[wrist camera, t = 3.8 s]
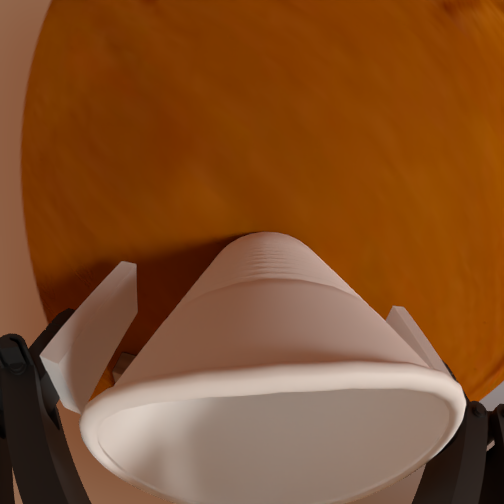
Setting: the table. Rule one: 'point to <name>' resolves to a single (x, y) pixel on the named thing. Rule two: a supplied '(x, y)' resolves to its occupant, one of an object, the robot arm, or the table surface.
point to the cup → (272, 390)
